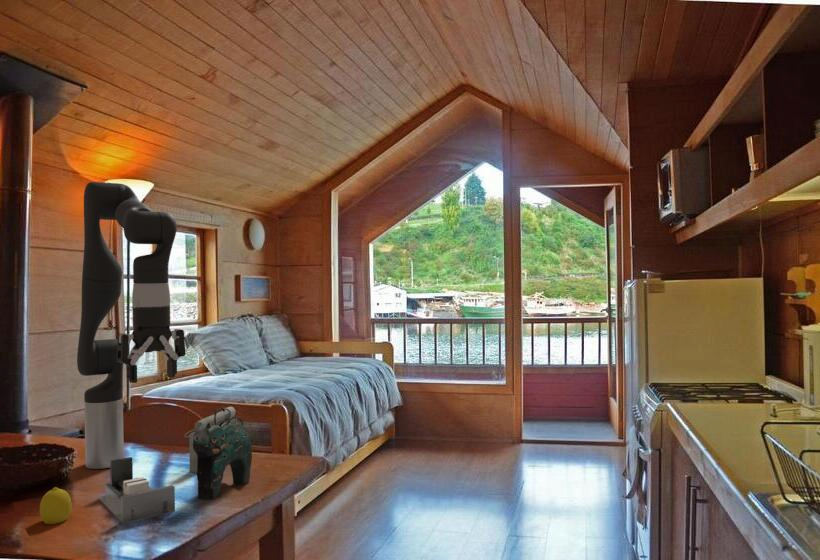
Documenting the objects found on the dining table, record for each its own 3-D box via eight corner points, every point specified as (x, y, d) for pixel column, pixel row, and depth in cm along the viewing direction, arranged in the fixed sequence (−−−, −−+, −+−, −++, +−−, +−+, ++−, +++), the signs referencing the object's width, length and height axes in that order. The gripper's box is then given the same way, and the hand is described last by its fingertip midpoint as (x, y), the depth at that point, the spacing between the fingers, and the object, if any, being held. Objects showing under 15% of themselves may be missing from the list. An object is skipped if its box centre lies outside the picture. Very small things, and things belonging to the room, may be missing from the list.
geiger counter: (203, 422, 156) (249, 402, 180) (179, 421, 157) (228, 401, 181) (204, 479, 156) (249, 451, 180) (180, 477, 157) (229, 450, 181)
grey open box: (97, 504, 139) (97, 474, 139) (145, 493, 145) (144, 465, 145) (123, 531, 123) (122, 497, 123) (175, 518, 130) (174, 486, 130)
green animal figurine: (212, 509, 134) (211, 415, 134) (185, 507, 136) (184, 414, 136) (257, 480, 154) (256, 397, 154) (233, 479, 155) (231, 397, 155)
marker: (123, 504, 134) (122, 480, 134) (143, 500, 136) (143, 476, 136) (128, 510, 131) (128, 485, 131) (149, 505, 133) (148, 481, 133)
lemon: (48, 523, 128) (47, 483, 128) (76, 521, 129) (75, 482, 129) (34, 534, 123) (33, 492, 123) (64, 532, 123) (63, 491, 123)
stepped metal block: (110, 492, 141) (110, 460, 141) (131, 487, 144) (130, 456, 144) (122, 503, 134) (121, 469, 134) (143, 498, 137) (143, 465, 137)
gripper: (173, 302, 144) (174, 373, 145) (110, 305, 134) (111, 382, 134) (191, 303, 139) (192, 377, 140) (126, 306, 129) (128, 386, 129)
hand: (152, 379), depth 137 cm, fingers open, 8 cm apart
